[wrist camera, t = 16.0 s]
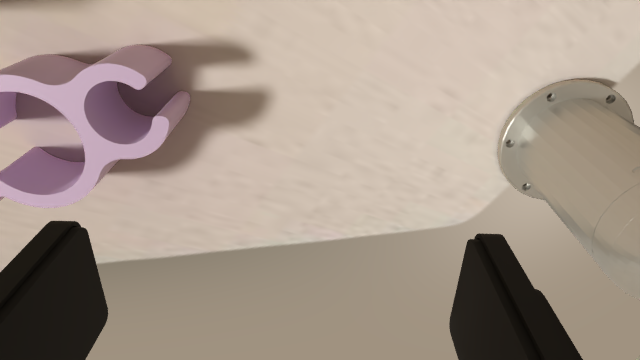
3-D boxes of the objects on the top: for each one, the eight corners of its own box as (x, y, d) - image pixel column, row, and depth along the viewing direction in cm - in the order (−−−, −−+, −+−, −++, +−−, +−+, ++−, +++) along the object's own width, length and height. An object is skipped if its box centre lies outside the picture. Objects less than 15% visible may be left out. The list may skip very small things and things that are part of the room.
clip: (148, 10, 40) (116, 24, 34) (209, 134, 46) (192, 164, 40) (-36, 83, 44) (-94, 107, 38) (42, 189, 49) (3, 226, 43)
